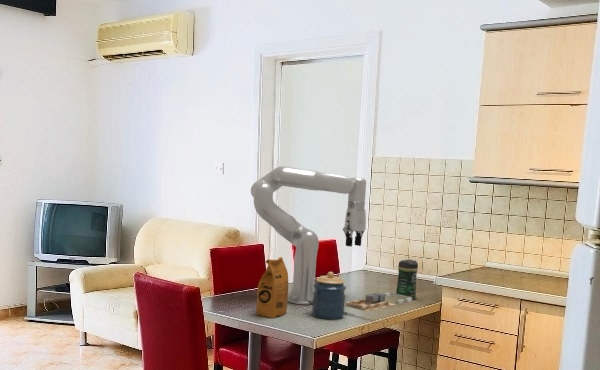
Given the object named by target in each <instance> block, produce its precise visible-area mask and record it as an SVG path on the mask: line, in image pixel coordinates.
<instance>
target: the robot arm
mask: <svg viewBox="0 0 600 370" xmlns="http://www.w3.org/2000/svg"><path fill="white" fill-rule="evenodd" d="M282 187H289V188H294V189H295V188H296V189H301V190H308V191H309V190H310V191H323V192H329V193H330V192H331V193H337V194H343V195H347V194H348V197H347V209H346V212H345V220H344V227H342V231H343V233H344V236H345V247H351V248H352V246H353V240H354V246H359V247H361V246H362V239H363V235H364V232H365V231H366V229H367V228H366V227H367V226H366V224H367V216H366V215H367V214H366V208H365V207H366V191H367V180H366V179H365V178H362V177H349V176H345V175H338V174H331V173H325V172H320V171H317V170H310V169H306V168H305V169H304V168H298V167H292V166H278V167H275V168H274V169H272V170H270V172H269V173H267V174H265V175H264V176H262V177H261V178H260V179H258V180H256V181H255V182H254V183H253V184H252V186H251V188H250V195H251V196H252V197H253V206H254V209H255V211H256V213H257V215H258V216H259V217H260V218H261V219H262V220H263V221H265V222H266V223H267V224H268V225H269V226H271V227H272V228H273V230H274V231H275V232H276V233H277V234H278V235H280V236H281V237H283V239H285V240H287V242H289V243H291V244H292V245H293V246H294V247H295V253H294V258H293V259H294V261H293V276H292V290H291V291H290V293H288V299H287V302H289V303H292V304H295V305H303V306H304V305H305V306H306V305H308V306H309V305H313V293H314V291H315V287H314V284H315V283H316V282H315V281H316V269H317V256H318V252H319V251H318V250H319V237H318V236H317V233H315V231H313V230H312V229H308V228H306V227H305V226H304V225H303V224H302V223H300V222H298V221H297V220H296V218H295V217H294V216H292V215H291V214H289V213H287V212H286V211H285V210H284V209H282V207H280V206H279V205H278V204H277V203H275V201H274V193H275V192H277V190H279V189H280V188H282ZM354 232H355V237H354V238H353V237H352V236H353V234H354Z"/></svg>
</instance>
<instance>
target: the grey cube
mask: <svg viewBox="0 0 600 370" xmlns="http://www.w3.org/2000/svg"><path fill="white" fill-rule="evenodd" d="M372 294H374V295H378V296H379V299H378V303H380V302H385V301H386V297H385V293H380V292H375V293H372Z"/></svg>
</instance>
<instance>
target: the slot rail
mask: <svg viewBox="0 0 600 370" xmlns="http://www.w3.org/2000/svg"><path fill="white" fill-rule="evenodd" d="M384 294H385V298H388V297H393V298H397V300H395V303H391V302H389V301H388V300H387V301H386V300H385V302H380V303H376V304H371V305H367V304H365V298H362V299H357V300H351V301H347V302H345V304H344V307H349V308H353V309H357V310H360V311H364V312H368V311H373V310H377V309H382V308H387V307H390V306H391V307H392V306H396V305H401V304H404V303H408V302H413V300H414V299H413V297H408V296H404V295H400V294H396V292H385V293H384Z"/></svg>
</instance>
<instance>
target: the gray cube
mask: <svg viewBox="0 0 600 370" xmlns="http://www.w3.org/2000/svg"><path fill="white" fill-rule="evenodd" d="M364 299H365V304H367V305H371V304H376V303H378V299H379V296H378V295H374V294H373V293H368V294H365V298H364Z"/></svg>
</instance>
